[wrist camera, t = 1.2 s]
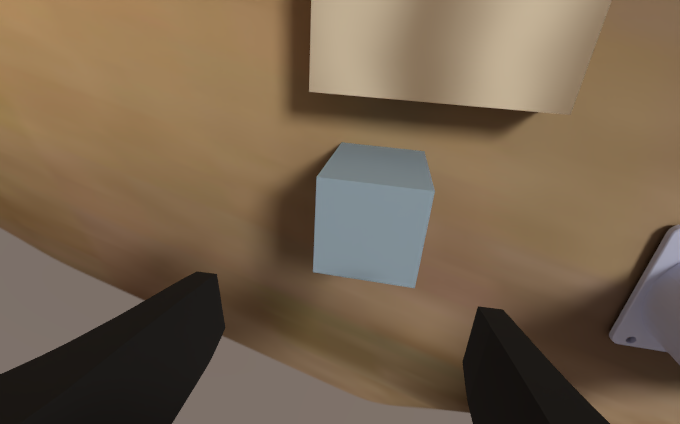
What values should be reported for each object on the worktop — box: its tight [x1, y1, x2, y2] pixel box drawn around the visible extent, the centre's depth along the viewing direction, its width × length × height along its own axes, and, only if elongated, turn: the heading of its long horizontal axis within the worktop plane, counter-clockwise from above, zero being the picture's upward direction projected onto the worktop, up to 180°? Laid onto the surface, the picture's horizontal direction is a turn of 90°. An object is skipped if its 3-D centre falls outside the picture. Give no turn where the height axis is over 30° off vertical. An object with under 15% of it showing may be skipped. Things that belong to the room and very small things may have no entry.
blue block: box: [313, 142, 435, 288], centre depth 16 cm, size 4×4×6 cm
